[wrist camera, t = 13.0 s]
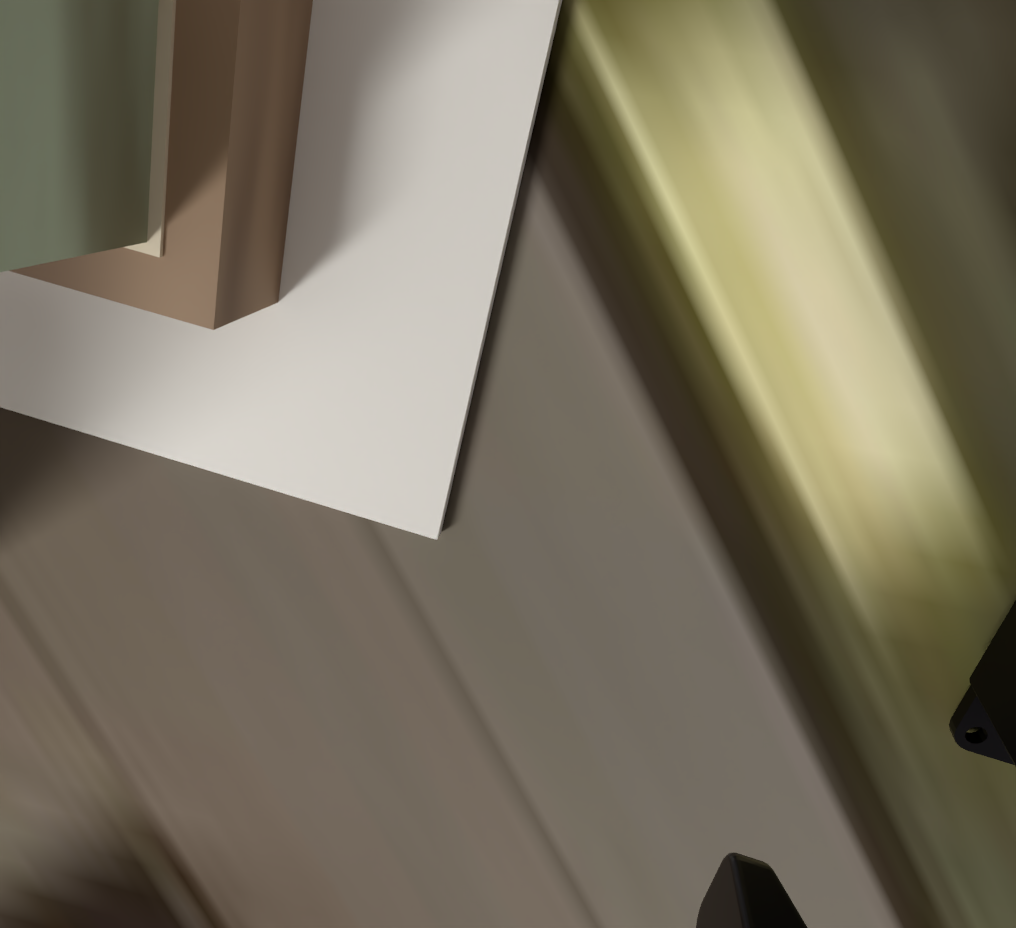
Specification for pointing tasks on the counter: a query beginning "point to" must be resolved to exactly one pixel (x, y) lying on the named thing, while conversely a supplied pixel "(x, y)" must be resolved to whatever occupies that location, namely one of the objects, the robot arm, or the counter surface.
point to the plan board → (301, 250)
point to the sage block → (74, 127)
